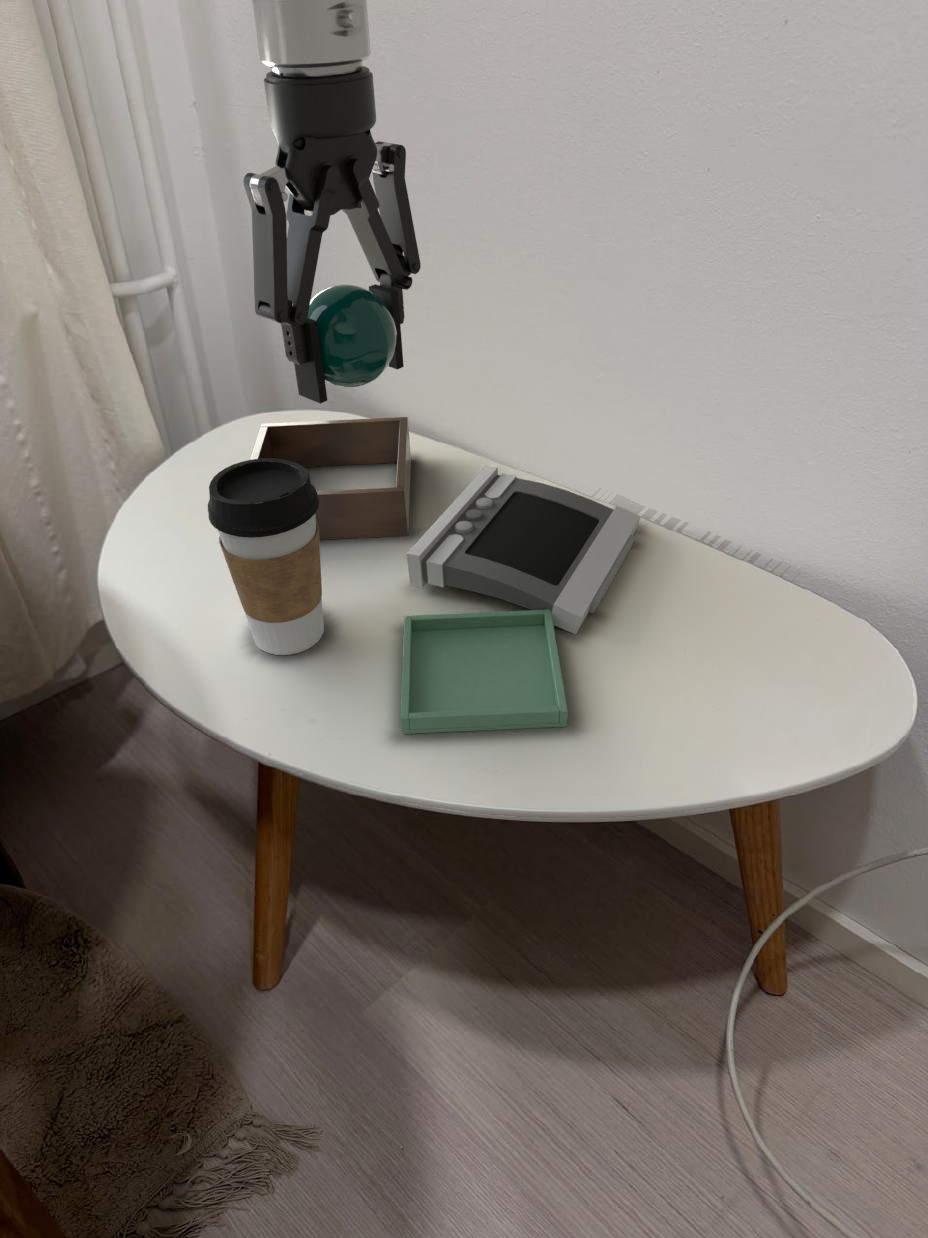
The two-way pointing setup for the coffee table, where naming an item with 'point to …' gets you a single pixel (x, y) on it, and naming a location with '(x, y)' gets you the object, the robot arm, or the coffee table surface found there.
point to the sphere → (353, 334)
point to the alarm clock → (526, 546)
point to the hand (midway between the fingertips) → (352, 380)
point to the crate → (348, 446)
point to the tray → (481, 672)
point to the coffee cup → (272, 549)
